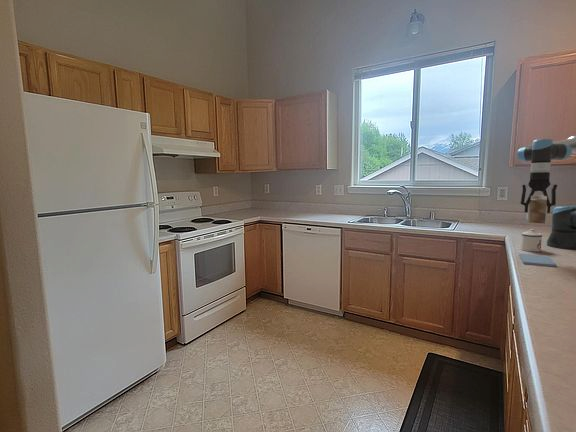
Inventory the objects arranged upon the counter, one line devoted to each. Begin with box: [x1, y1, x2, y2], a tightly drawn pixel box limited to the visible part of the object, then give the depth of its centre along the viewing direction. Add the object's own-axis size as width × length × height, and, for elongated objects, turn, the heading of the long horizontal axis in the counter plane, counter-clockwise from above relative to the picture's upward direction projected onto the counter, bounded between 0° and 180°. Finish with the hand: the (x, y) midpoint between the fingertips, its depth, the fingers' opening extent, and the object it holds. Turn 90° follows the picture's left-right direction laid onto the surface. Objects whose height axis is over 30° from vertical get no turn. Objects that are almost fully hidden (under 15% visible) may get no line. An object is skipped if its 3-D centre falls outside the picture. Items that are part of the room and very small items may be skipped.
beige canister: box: [527, 194, 547, 224], centre depth 157 cm, size 6×6×13 cm
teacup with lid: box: [520, 228, 543, 253], centre depth 177 cm, size 12×9×12 cm
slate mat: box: [518, 253, 557, 268], centre depth 155 cm, size 12×18×1 cm, turn 150°
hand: (536, 219), depth 158 cm, fingers closed on beige canister, 6 cm apart
